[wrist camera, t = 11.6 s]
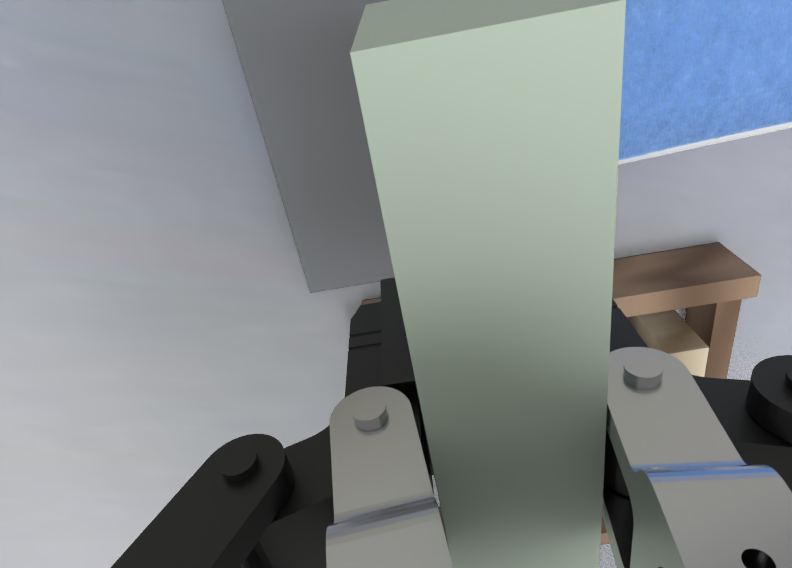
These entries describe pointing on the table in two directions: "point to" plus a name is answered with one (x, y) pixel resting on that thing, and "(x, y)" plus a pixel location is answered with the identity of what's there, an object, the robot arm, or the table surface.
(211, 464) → the robot arm
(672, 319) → the offcut stack
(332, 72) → the mat
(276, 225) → the table surface
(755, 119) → the tablet computer
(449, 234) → the tall block
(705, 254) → the storage rack
